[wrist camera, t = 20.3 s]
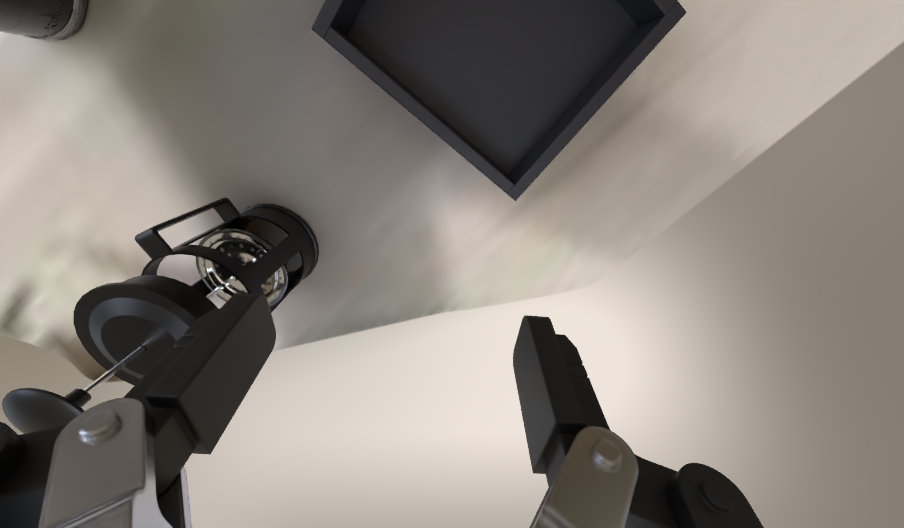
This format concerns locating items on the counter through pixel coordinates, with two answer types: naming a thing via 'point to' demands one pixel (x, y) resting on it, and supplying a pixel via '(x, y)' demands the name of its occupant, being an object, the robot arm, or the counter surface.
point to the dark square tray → (499, 68)
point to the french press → (171, 302)
